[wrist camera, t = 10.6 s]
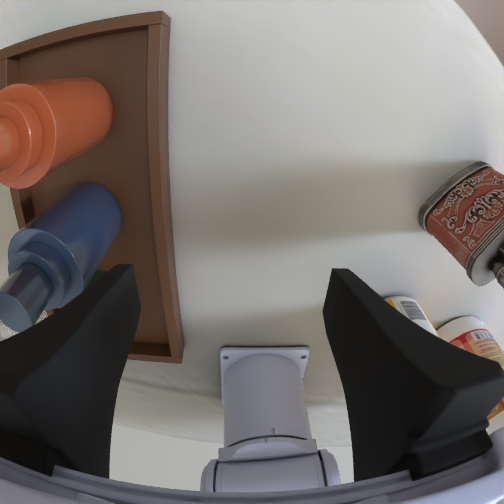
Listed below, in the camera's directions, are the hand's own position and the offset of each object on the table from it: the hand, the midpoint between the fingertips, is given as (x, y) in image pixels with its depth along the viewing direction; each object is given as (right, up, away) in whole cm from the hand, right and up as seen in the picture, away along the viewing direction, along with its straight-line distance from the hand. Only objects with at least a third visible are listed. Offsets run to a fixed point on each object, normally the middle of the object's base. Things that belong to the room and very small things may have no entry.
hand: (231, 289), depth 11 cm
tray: (-10, +4, +9) cm, 15 cm away
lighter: (+17, +6, +10) cm, 20 cm away
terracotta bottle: (-10, +10, +5) cm, 15 cm away
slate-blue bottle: (-10, +4, +9) cm, 14 cm away
